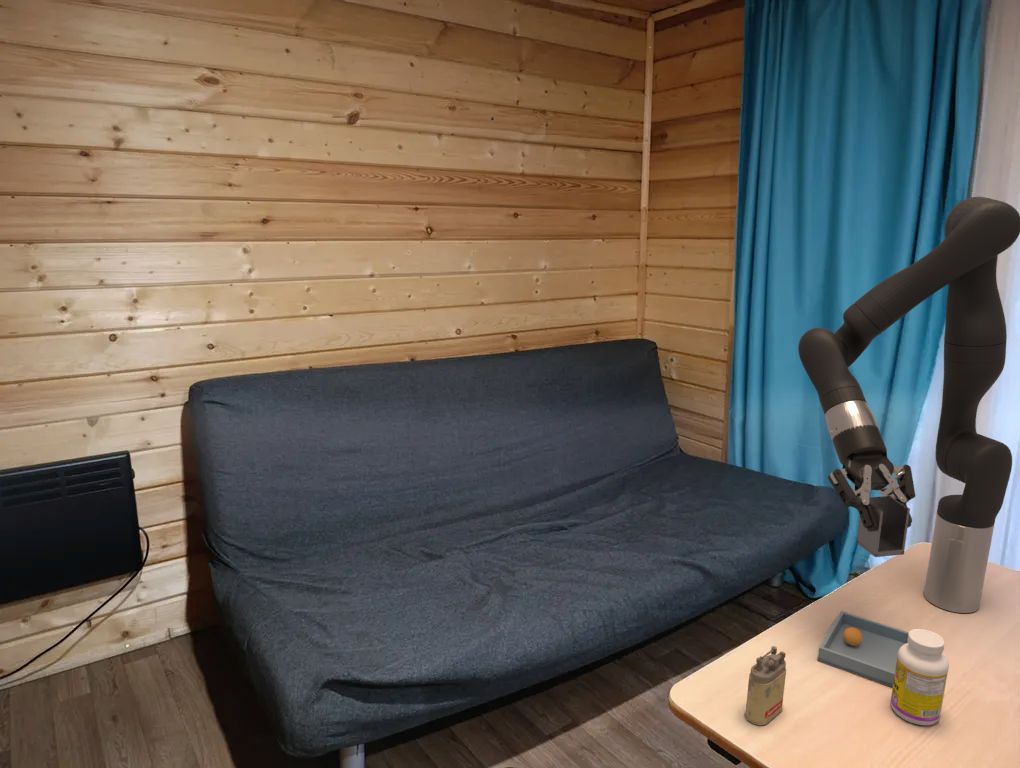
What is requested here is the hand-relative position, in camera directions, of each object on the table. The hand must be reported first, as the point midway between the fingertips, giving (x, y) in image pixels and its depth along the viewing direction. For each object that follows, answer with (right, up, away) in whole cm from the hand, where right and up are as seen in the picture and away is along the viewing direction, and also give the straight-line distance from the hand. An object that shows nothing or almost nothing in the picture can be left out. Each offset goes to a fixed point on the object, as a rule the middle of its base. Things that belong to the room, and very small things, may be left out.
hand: (890, 528), depth 118 cm
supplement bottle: (0, -27, -6) cm, 27 cm away
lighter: (-23, -27, -6) cm, 35 cm away
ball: (-2, -20, +9) cm, 22 cm away
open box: (0, -4, +3) cm, 5 cm away
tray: (0, -23, +7) cm, 24 cm away
